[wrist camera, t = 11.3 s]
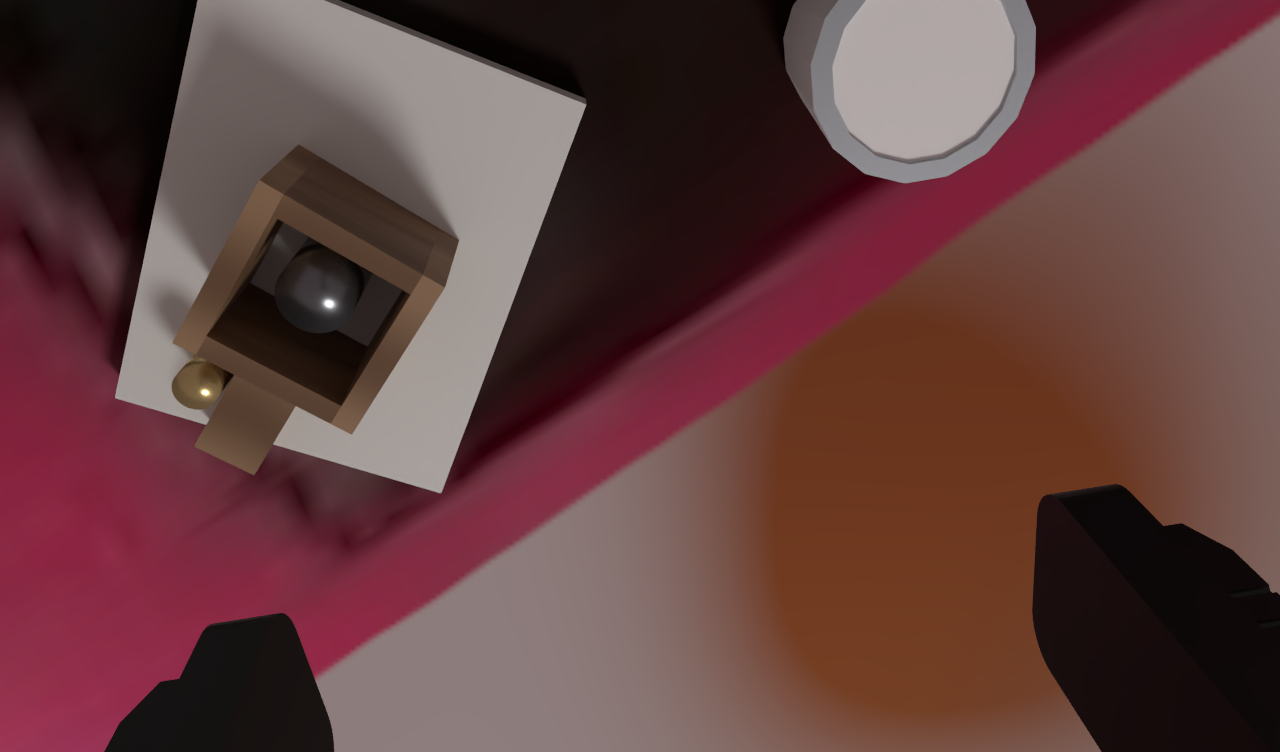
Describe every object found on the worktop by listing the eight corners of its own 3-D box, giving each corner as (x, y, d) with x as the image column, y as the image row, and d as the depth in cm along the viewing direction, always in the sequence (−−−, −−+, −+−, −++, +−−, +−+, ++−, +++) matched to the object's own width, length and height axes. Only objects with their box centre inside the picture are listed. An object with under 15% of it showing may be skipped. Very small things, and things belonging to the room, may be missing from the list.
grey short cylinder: (756, 134, 37) (797, 181, 30) (776, -69, 34) (826, -63, 27) (935, 139, 37) (1012, 187, 31) (970, -59, 34) (1063, -51, 28)
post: (313, 214, 35) (284, 248, 32) (383, 238, 36) (363, 275, 32) (295, 277, 36) (266, 318, 33) (364, 300, 37) (343, 343, 33)
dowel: (199, 336, 37) (176, 364, 35) (242, 349, 37) (222, 377, 35) (190, 372, 38) (167, 401, 35) (233, 385, 38) (212, 415, 36)
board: (218, -48, 33) (207, -47, 31) (585, 98, 35) (586, 104, 34) (127, 384, 39) (115, 398, 38) (444, 478, 42) (441, 493, 41)
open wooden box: (298, 144, 34) (259, 180, 30) (459, 240, 36) (445, 287, 32) (161, 397, 38) (108, 462, 33) (314, 472, 40) (282, 543, 35)
